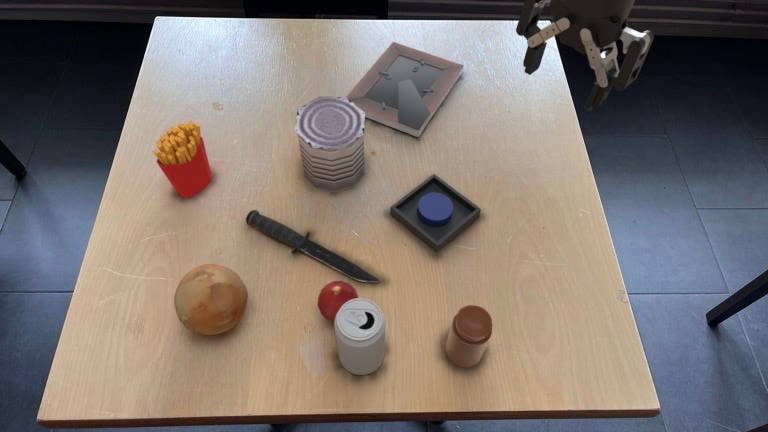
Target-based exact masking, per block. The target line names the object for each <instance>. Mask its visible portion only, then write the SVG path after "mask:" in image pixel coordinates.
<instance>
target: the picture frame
mask: <svg viewBox="0 0 768 432" xmlns="http://www.w3.org/2000/svg"><path fill="white" fill-rule="evenodd" d="M463 70H464V65H463V64H461V63H458V62H456V61H455V62H454V61H451V60H449V59H446V58H443V57H440V56H437V55H433V54H430V53H429V52H426V51H422V50H419V49H416V48H413V47H410V46H407V45H404V44H401V43H398V42H395V41H393V42H391V44H389V46H388V47H387V48H386V49H385V51H383V53H382V54H381V55H380V56H379V57H378V59H377V60H376V61H375V62H374V64H373V65H372V66H371V67H370V68H369V69H368V71H367V72H366V73H365V74H364V76H363V77H362V78H361V79H360V80H359V81H358V82H357V84H355V86H354V87H353V88H352V90H351V91H349V93H348V94H347V95H346V97H347V98H348V99H349V100H350V101H352V102H353V103H354V104H355V105H356V106H357V107H359V108H360V109H361V110H362V111H363V112H365V118H367V119H370V120H372V121H374V122H377V123H379V124H382V125H384V126H388V127H390V128H393V129H396V130H398V131H400V132H404V133H405V134H408V135H411V136H414V137H415V138H419V137H420V135H421V134H422V132H423V131H424V129H426V127H427V125H428V124H429V122H430V121H431V120H432V118H433V117H434V115H435V114H436V112H437V110H438V109H439V108H440V106H441V105H442V103H443V102H444V100H445V99H446V97H447V96H448V94H449V93H450V92H451V90H452V89H453V87H454V86H455V84H456V83H457V81H458V80H459V78H460V77H461V75H462V74H463Z"/></svg>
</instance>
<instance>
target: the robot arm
mask: <svg viewBox="0 0 768 432" xmlns="http://www.w3.org/2000/svg"><path fill="white" fill-rule="evenodd" d="M635 1H636V0H524V3H523V5H522V8H521V12H520V15H519V18H518V21H517V24H516V27H515V32H516V34H517V35H518V36H520V37H524V39H525V40H526V44H527V47H526V51H525V54H524V58H523V60H522V64H523V67H524V73H525V74H527V75H528V76H530V75H533V74H534V73H535V72H536V71H538V69H539V68H540V67H541V63H542V60H543V57H544V54H545V51H546V47H547V45H548V42H547V41H548V40H550V39H552V38H553V37H555V36H557V38H558V39H559V42H560V43H561V44H563V45H565V46H568V47H571V48H573V49H574V50H575V51H576V52H578V53H579V54H581V55H583V56H584V55H586V57H587V60H588V63H589V67H590V68H591V69H593V71H594V74H595V78H596V81H595V82H594V83H593V85H592V88H591V90H590V92H589V95H588V97H587V99H586V101H585V104H584V106H583V108H584V109H586V110H587V111H591V110H593V109H597V108H599V107H600V106H601V105H603V104H604V103H605V102H606V100H607V98H608V95H609V94H610V92H611V90H612V88H614V89H615V90H616V91H618V92H623V91H624V90H625V89H626V88H628V86H629V85H630V84H632V83H633V82H635V81H636V80H637V78H638V75H639V73H640V72H641V69H642V67H643V64H644V62H645V59H646V57H647V55H648V53H649V50H650V47H651V45H652V43H653V41H654V38H655V35H654V32H653V31H651V30H644V31H643V32H640V31H637V30H635V29H633V28H630V27H628V26H629V25H628V18H629V17H628V16H629V15H630V12H631V10H632V8H633V6H634V3H635ZM547 5H549V10H550V14H551V17H552V22H551V23H550V24H548V25H547V26H545V27H543V28H540V27H539V26H538V23H539V20H540V18H541V15H542V11H543V9H544V7H546V6H547ZM618 40H620V41H621V42H622V54H624V58H623V60H622V62H621V65H620V67H619V63H618V60H617V59H618V58H617V57H618V52H619V51H618V47H617V43H616V41H618ZM601 49H602V52H601Z"/></svg>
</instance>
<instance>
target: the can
mask: <svg viewBox="0 0 768 432" xmlns="http://www.w3.org/2000/svg"><path fill="white" fill-rule="evenodd" d="M365 120H366V117H365V112H363V111H362V110H361V109H360V108H359V107H357V106H356V105H355V104H354V103H353V102H352V101H350V100H349V99H348V98H347V96H345V97H344V96H327V95H318V96H316V97H315V98H314V99H312V100H311V101H308V102H307V103H306V104H304V105H303V106H301V107H299V108H298V109H297V113H296V118H295V124H294V125H295V126H294V132H295V133H296V134H297V139H298V140H297V141H298V146H299V151H300V158H301V164H302V169H303V175H304V178H305V179H306V180H307V181H308V182H309V183H310V184H311V186H313V188H314V189H315V190H320V191H326V192H329V193H334V194H335V193H340V192H342V191H346V190H349V189H353V188H354V187H355V186H357V184H358V183H359V182H360V181H361V180H362V178H363V177H364V176H365V174H366V173H365V138H364V137H365V124H366V123H365V122H366V121H365Z"/></svg>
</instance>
